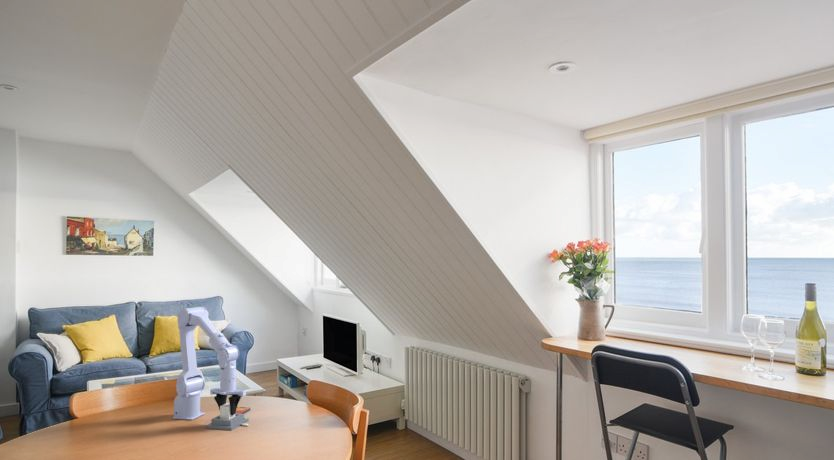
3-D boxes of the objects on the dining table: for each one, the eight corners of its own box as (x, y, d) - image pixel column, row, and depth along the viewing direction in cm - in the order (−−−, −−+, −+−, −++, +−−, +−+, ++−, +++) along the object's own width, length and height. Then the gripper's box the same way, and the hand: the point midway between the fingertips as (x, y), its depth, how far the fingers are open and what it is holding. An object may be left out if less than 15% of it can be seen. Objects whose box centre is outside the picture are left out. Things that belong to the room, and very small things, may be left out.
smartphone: (214, 421, 195) (214, 419, 195) (235, 409, 210) (235, 406, 210) (231, 422, 194) (231, 420, 194) (251, 410, 209) (251, 407, 209)
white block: (219, 419, 189) (220, 406, 189) (226, 416, 193) (226, 403, 193) (229, 420, 188) (229, 406, 188) (235, 416, 192) (235, 403, 192)
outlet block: (206, 428, 186) (206, 420, 186) (224, 418, 197) (224, 411, 197) (239, 431, 183) (239, 422, 183) (256, 421, 193) (256, 413, 193)
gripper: (205, 379, 189) (204, 416, 188) (238, 381, 185) (238, 418, 185) (217, 375, 196) (216, 410, 195) (249, 377, 192) (249, 412, 191)
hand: (227, 414), depth 190 cm, fingers closed on white block, 4 cm apart
